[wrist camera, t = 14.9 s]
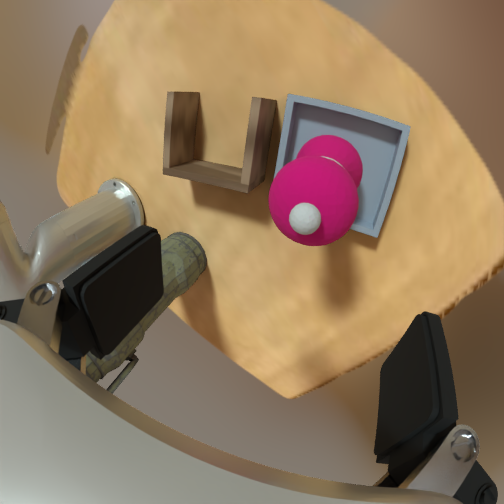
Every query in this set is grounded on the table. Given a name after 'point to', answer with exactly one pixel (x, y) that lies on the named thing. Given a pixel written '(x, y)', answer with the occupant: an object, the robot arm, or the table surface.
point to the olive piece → (175, 283)
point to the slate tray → (364, 141)
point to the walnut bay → (184, 166)
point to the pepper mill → (317, 191)
